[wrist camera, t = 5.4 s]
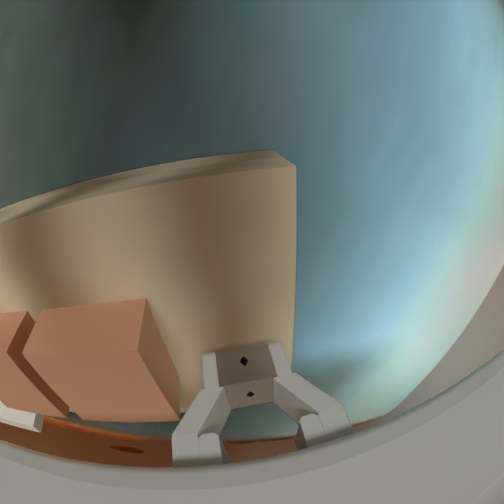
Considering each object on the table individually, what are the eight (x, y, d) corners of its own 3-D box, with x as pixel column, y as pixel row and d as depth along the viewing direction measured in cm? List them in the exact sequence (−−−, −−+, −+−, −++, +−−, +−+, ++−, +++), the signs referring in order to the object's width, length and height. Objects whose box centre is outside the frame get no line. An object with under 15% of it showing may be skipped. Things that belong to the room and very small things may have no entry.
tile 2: (146, 297, 9) (137, 350, 7) (179, 375, 12) (180, 420, 10) (42, 309, 9) (21, 353, 7) (90, 380, 11) (83, 419, 9)
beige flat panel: (271, 149, 11) (296, 166, 8) (277, 359, 17) (288, 396, 15) (-42, 227, 8) (-71, 253, 6) (45, 376, 15) (36, 407, 13)
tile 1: (27, 310, 9) (6, 352, 7) (75, 379, 11) (67, 418, 9) (-28, 314, 8) (-47, 347, 6) (17, 375, 11) (7, 407, 9)
